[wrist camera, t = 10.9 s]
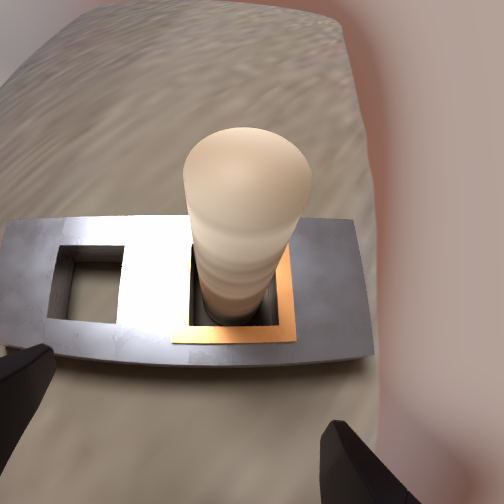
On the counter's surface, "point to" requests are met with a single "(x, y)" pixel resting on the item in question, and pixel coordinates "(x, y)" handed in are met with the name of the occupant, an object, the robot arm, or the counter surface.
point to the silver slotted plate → (181, 295)
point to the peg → (242, 215)
